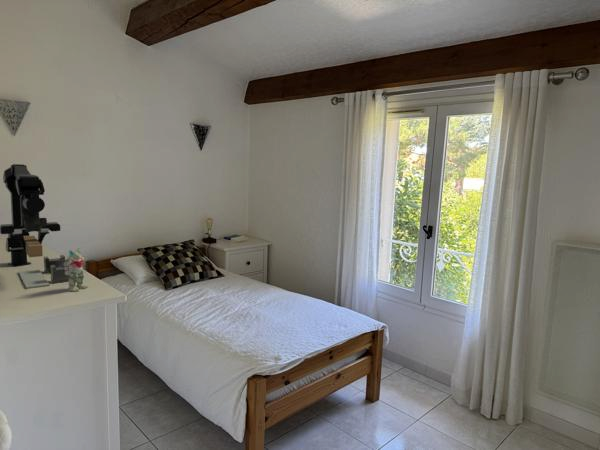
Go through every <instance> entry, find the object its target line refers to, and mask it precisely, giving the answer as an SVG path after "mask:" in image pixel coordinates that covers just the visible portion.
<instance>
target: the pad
mask: <svg viewBox="0 0 600 450" xmlns="http://www.w3.org/2000/svg"><path fill="white" fill-rule="evenodd" d="M19 274H20V275H19ZM18 275H19V276H21V277H20V278H21V281H22V280H23V281H22V282H24V283H23V284H25V285H24V286H25V289H26V290H27V289H36V288H43V287H44V288H45V287H50V283H49V281H48V280H47V279H46V277H45V275H43V273H42V271H41V270H40V269H39V268H36V269H29V270H19V271H18Z"/></svg>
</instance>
